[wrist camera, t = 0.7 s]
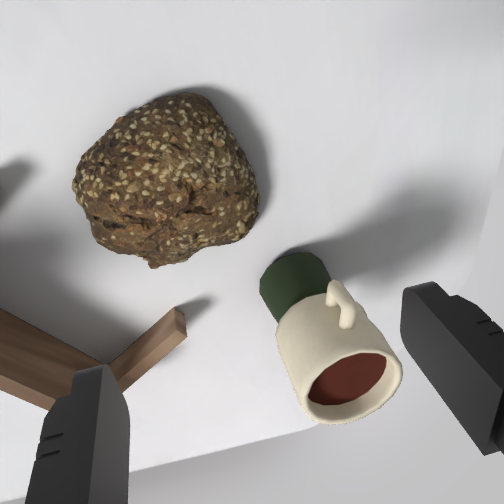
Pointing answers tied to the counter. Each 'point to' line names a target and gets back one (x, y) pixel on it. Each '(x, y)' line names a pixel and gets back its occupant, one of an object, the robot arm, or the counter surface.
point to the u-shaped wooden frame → (73, 358)
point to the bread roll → (167, 182)
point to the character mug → (328, 342)
